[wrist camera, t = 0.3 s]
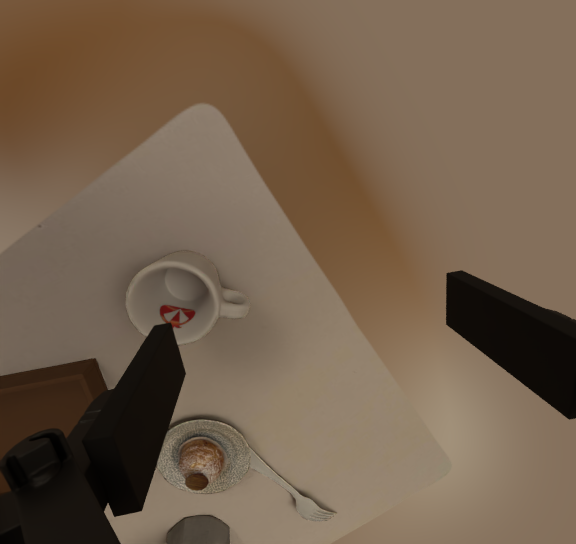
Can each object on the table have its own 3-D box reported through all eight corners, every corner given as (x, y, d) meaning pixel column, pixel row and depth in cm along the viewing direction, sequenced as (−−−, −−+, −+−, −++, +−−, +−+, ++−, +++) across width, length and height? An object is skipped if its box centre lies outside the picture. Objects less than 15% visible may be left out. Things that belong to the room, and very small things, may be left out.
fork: (242, 424, 45) (240, 438, 42) (339, 511, 49) (343, 529, 46) (228, 436, 45) (225, 451, 43) (325, 521, 49) (328, 540, 46)
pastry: (228, 400, 40) (224, 428, 36) (264, 468, 44) (265, 501, 39) (141, 433, 41) (126, 464, 37) (184, 498, 44) (175, 533, 40)
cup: (258, 258, 36) (261, 281, 28) (241, 322, 38) (239, 360, 30) (158, 233, 34) (132, 251, 26) (145, 302, 36) (117, 337, 28)
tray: (-71, 389, 36) (-99, 408, 33) (95, 358, 37) (82, 373, 34) (-8, 495, 41) (-28, 519, 38) (137, 464, 42) (128, 485, 39)
